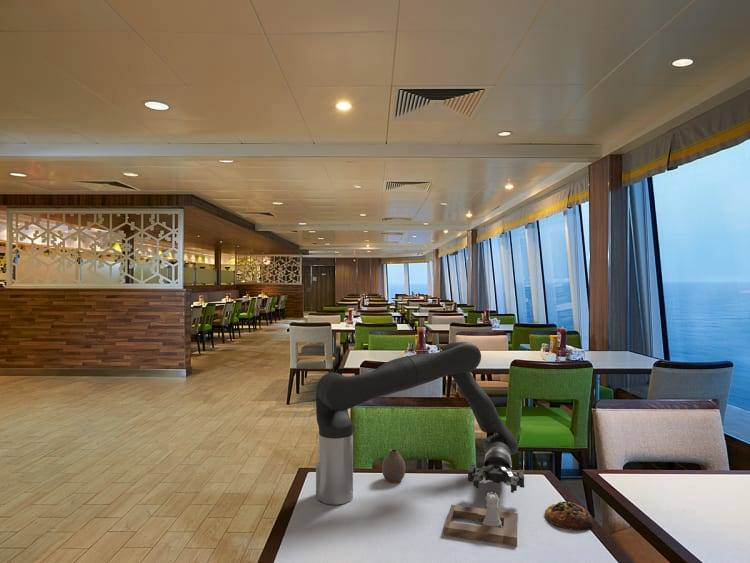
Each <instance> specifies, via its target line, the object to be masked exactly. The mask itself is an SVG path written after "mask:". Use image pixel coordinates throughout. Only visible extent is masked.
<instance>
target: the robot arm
mask: <svg viewBox="0 0 750 563" xmlns="http://www.w3.org/2000/svg"><path fill="white" fill-rule="evenodd" d="M481 360H482V353H481V350H480V349H479V347H478V346H477V345H476V344H473V343H472V342H468V341H454V342H449V343H447V344H446V345H444V346H443V348H442V350H441V351H438V352H427V353H416V354H411V355H410V354H409V355H405V356H401V357H397V358H394V359H391V360H388V361H387V362H384V363H383V364H381V365H380V366H378V367H377V368H376V369H373V370H372V371H369V372H365V373H361V374H356V375H347V376H345V375H343V374H341V373H337V372H327V373H326V374H324V375H323V376H321V377H320V379H319V380H318V381H317V385H316V388H315V412H316V415H315V416H316V417H315V418H316V423H317V426H318V461H317V462H316V464H315V500H317V501H320V502H322V503H323V504H326V505H335V506H336V505H344V504H346V503H349V502H351V501H352V500H353V498H354V497H353V496H354V426H353V421H352V419H351V417H350V415H349V410H350V409H352V408H354V407H356V406H359V405H361V404H363V403H366V402H368V401H371V400H373V399H376V398H379V397H385V396H388V395H392V394H395V393H398V392H402V391H403V392H404V391H407V390H410V389H414V388H415V387H419V386H422V385H425V384H427V383H430V382H433V381H436V380H439V379H441V378H444V377H447V376H451V378H452V380H454V382H455V383H456V386H457V387H458V388H459V390H460V391H461V393H462V395H463V396H464V398H465V400H466V402H467V403H468V405H469V408H470V409H471V411H472V414H473V416H474V418H475V420H476V422H477V425H478V427H479V429H480V430H481V432H482V433H486V434H491V433H493V435H490V436H488V437H485V439H484V440H483V442H482V447H483V450H484V453H485V456H484V461H483V466H481V467H480V468H479V467H477V466H476V464H470V467H469V469H468V471H467V481H468V482H471V483H472V482H473V487H475V488H476V489H480V485H481V483H483V484H487V483H490V482H491V483H495V484H504V485H506V486H507V487H509V486H510V493H515V492H517V490H518V487H519V488H521V489H522V488H525V474H524V470H523V469H518V470H517V471H513V470H512V467H513V466H512V464H513V463H512V456H513V455H515V454H516V453H517V452H518V450H519V445H518V441H517V439H516V437H515V436H514V434H513V433H512V432H511V431H510V429H508V428H507V426H506V424H504V422H503V420H502V419H501V417H500V415H499V413H498V411H497V408H496V406H495V404H494V403H493V400H492V399H491V398H490V397H489V395H488V394H487V393H486V392H485V390H484V389H483V388H482V387H481V386H480V385H479V383H478V382H477V380H476V379H475V377H474V376H473V375H472V372H473V371H474V370H475V369H477V368H478V367H479V365H480V363H481Z"/></svg>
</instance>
